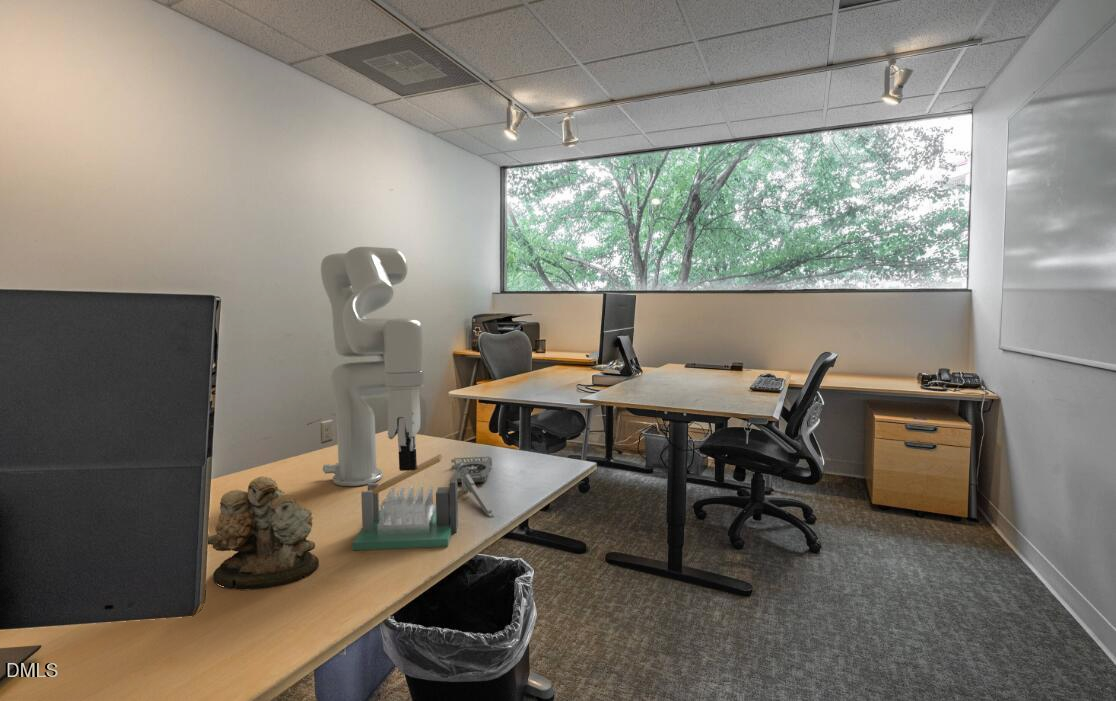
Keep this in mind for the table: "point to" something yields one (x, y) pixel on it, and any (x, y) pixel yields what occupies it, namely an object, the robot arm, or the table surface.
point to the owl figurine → (263, 537)
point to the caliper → (475, 492)
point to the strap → (406, 475)
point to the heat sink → (407, 513)
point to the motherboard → (372, 540)
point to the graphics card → (473, 468)
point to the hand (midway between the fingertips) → (408, 469)
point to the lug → (447, 505)
